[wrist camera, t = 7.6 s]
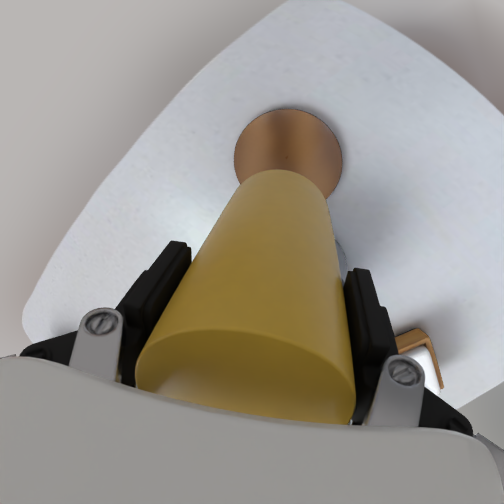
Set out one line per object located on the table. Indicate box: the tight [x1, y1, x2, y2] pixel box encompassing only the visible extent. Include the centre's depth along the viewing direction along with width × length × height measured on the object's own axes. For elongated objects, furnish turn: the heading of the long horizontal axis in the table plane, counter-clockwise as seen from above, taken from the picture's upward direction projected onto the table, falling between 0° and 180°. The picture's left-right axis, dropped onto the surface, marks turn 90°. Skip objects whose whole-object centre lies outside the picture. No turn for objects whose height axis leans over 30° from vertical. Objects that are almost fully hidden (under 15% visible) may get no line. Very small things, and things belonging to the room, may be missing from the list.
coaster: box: [234, 109, 342, 200], centre depth 29 cm, size 10×10×1 cm
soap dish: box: [395, 328, 444, 396], centre depth 37 cm, size 12×10×5 cm
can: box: [135, 169, 356, 425], centre depth 12 cm, size 6×6×12 cm
